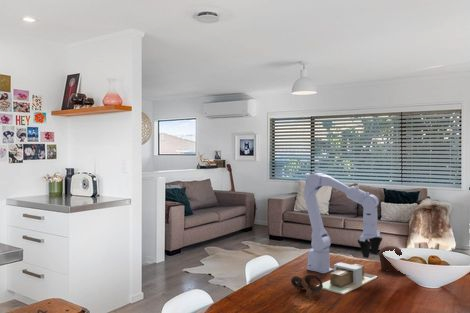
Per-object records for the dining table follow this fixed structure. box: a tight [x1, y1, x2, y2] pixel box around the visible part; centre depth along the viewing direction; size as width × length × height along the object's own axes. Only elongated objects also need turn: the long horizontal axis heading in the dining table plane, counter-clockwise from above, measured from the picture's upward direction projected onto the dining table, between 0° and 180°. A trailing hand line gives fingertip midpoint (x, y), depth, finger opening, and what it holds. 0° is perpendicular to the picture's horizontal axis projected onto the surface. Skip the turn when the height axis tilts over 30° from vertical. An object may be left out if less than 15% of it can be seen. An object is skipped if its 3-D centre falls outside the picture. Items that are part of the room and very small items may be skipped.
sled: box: [329, 263, 365, 287], centre depth 161 cm, size 5×19×4 cm, turn 135°
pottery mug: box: [290, 273, 323, 298], centre depth 149 cm, size 12×10×8 cm
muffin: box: [377, 245, 402, 272], centre depth 179 cm, size 12×11×10 cm
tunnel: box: [315, 262, 379, 296], centre depth 161 cm, size 12×28×7 cm, turn 135°
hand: (370, 255), depth 166 cm, fingers open, 7 cm apart
